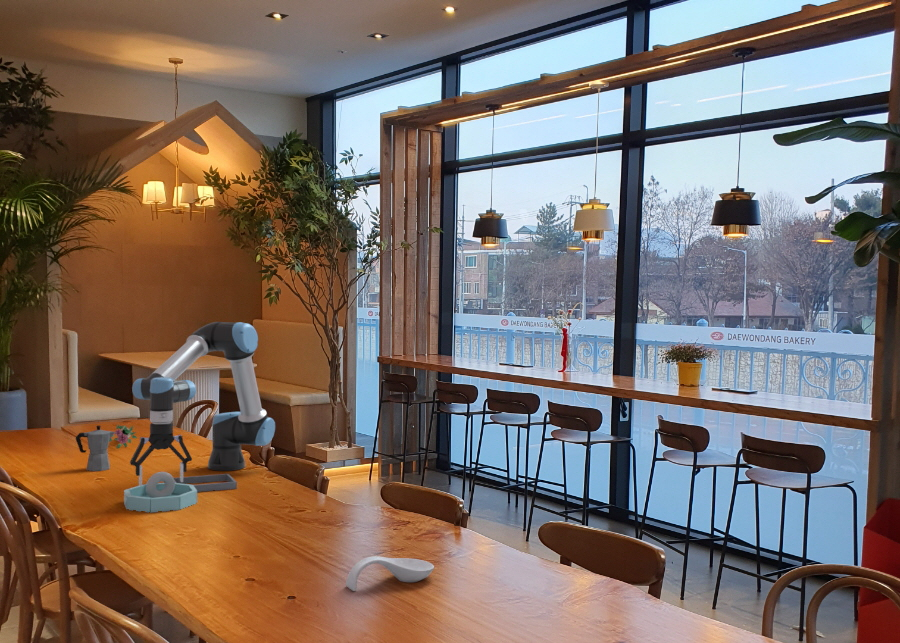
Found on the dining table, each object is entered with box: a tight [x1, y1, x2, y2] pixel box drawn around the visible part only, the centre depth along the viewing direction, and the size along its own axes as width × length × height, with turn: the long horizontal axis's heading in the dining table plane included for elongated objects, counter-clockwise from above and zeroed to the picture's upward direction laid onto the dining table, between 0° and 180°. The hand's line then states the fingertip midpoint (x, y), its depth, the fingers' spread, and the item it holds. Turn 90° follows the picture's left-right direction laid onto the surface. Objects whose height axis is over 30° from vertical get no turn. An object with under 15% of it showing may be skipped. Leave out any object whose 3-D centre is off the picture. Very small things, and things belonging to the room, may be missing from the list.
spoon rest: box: [345, 555, 435, 592], centre depth 214 cm, size 24×12×7 cm, turn 123°
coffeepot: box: [75, 425, 116, 472], centre depth 340 cm, size 15×9×18 cm, turn 129°
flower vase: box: [109, 424, 138, 449], centre depth 394 cm, size 12×12×35 cm
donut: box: [145, 471, 175, 498], centre depth 288 cm, size 10×3×10 cm, turn 131°
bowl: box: [123, 482, 198, 513], centre depth 288 cm, size 23×23×4 cm
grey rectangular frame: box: [173, 473, 238, 493], centre depth 314 cm, size 22×16×2 cm
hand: (161, 483), depth 288 cm, fingers open, 13 cm apart
